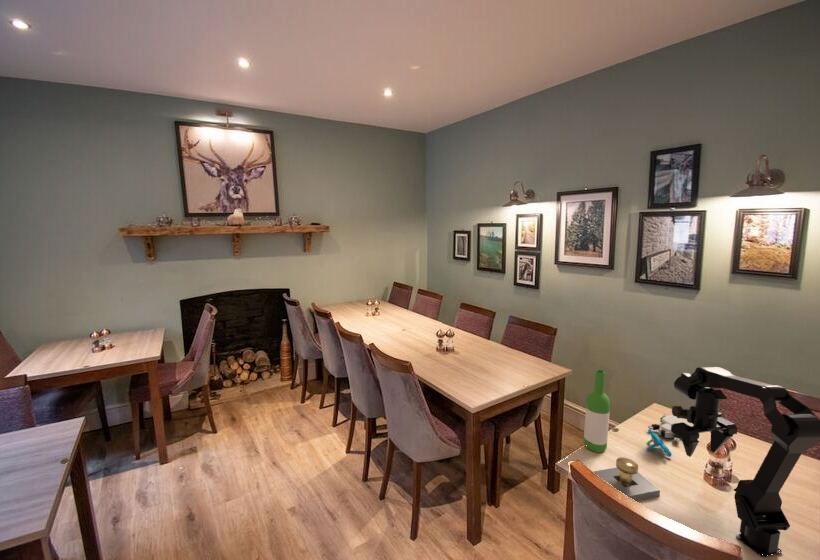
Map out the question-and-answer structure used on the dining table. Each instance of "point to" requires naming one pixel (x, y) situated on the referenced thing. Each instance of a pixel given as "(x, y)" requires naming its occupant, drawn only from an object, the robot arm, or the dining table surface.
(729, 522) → the dining table surface
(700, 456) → the dining table surface
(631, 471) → the door knob
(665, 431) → the robot toy
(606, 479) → the housing plate
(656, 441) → the blue plastic angular piece
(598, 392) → the wine bottle
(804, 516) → the dining table surface
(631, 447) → the dining table surface
